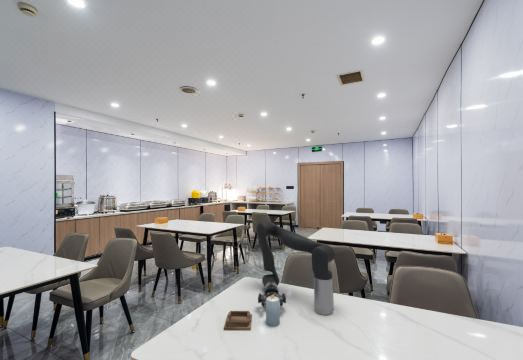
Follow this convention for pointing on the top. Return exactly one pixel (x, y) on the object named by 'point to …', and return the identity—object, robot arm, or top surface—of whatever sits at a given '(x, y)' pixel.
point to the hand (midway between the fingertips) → (272, 304)
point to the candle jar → (272, 311)
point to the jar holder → (238, 320)
